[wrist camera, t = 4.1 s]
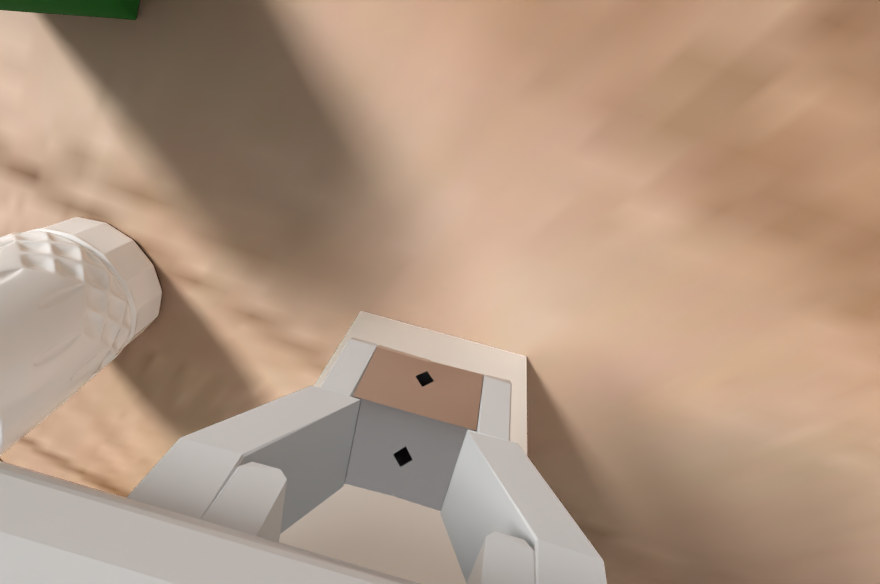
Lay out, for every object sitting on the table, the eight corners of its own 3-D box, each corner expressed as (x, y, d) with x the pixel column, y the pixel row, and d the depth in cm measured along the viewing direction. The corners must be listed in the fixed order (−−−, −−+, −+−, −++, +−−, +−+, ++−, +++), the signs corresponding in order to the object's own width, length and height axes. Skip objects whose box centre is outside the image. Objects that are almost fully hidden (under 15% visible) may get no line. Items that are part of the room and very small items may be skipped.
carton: (527, 355, 25) (533, 898, 9) (482, 478, 29) (430, 1012, 13) (359, 309, 25) (78, 757, 9) (337, 437, 29) (110, 910, 13)
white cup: (127, 366, 29) (-47, 505, 20) (8, 267, 28) (-238, 373, 19) (202, 288, 26) (37, 412, 17) (74, 171, 25) (-183, 243, 16)
